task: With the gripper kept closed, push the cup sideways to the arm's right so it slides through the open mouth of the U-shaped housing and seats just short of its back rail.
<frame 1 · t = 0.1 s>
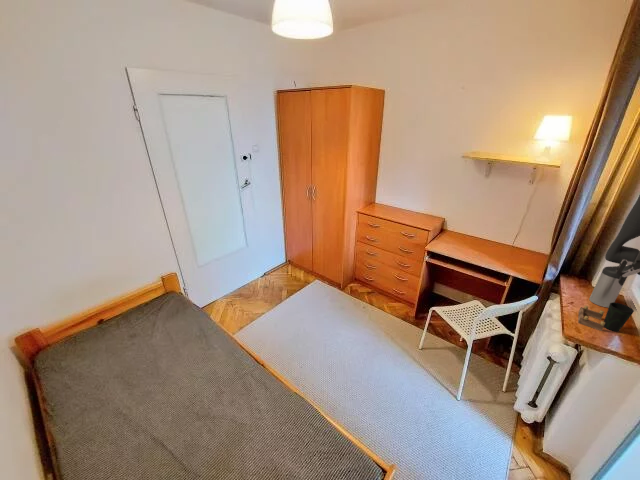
hand: (636, 288, 107), 29 cm above the window sill, fingers open, 8 cm apart
cup: (610, 328, 129), on the window sill
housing: (589, 321, 134), on the window sill
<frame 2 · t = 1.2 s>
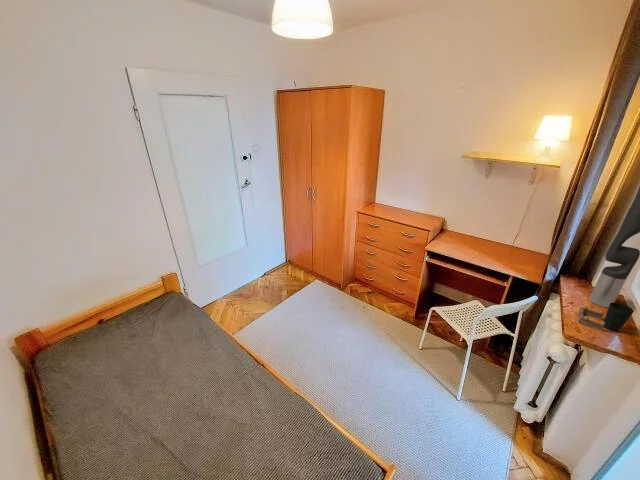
nothing on the window sill moved.
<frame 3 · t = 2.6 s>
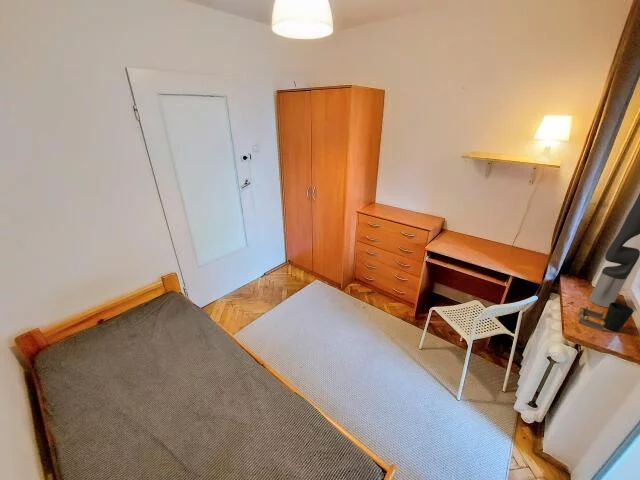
nothing on the window sill moved.
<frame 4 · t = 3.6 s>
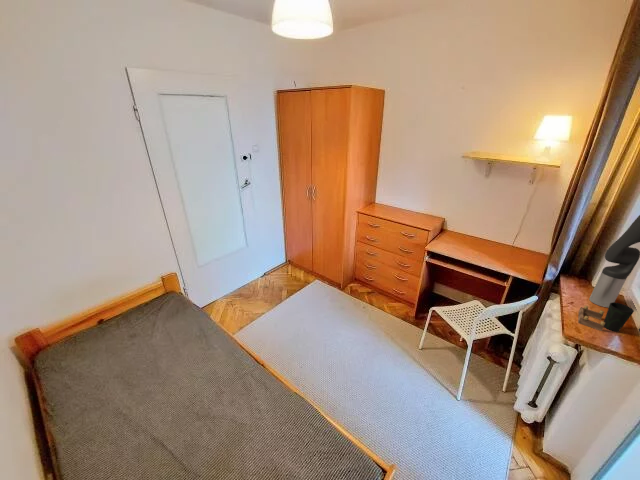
nothing on the window sill moved.
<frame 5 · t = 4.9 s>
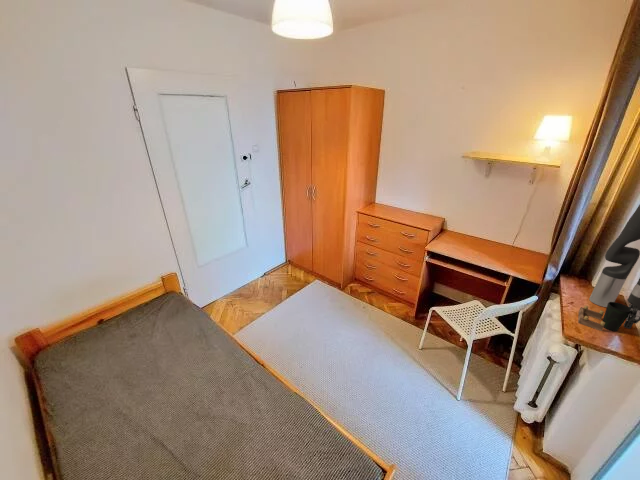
hand: (626, 327, 125), 3 cm above the window sill, fingers closed
cup: (609, 328, 129), on the window sill, touching gripper
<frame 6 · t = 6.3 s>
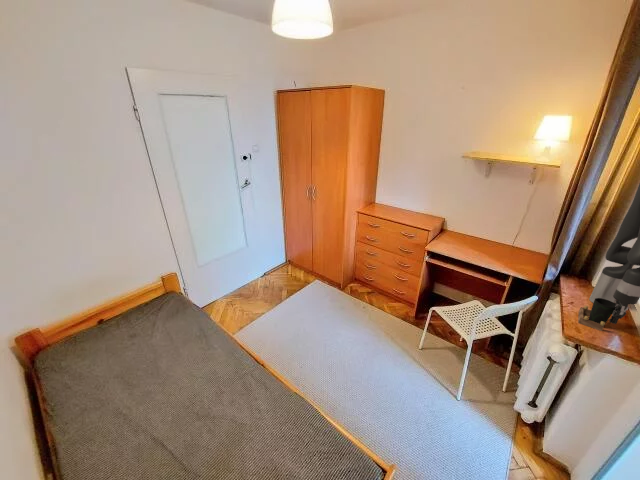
hand: (612, 322, 128), 3 cm above the window sill, fingers closed
cup: (595, 323, 132), on the window sill, touching gripper
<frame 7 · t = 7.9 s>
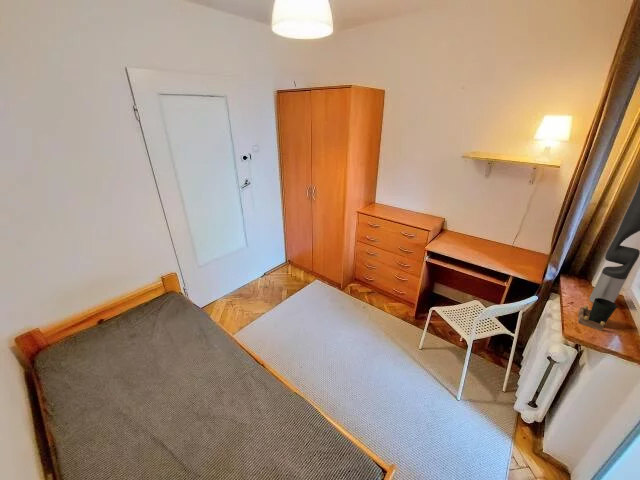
cup: (595, 323, 132), on the window sill
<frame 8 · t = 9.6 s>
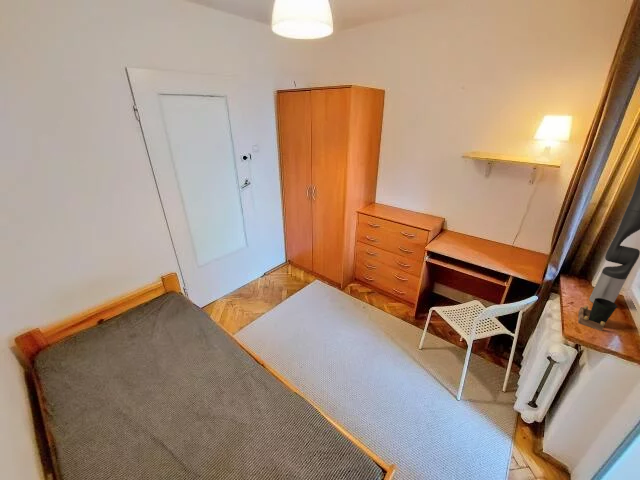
nothing on the window sill moved.
at the end: cup inside the target area (1.6 cm from its centre), on the window sill; cup tilted 0° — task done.
